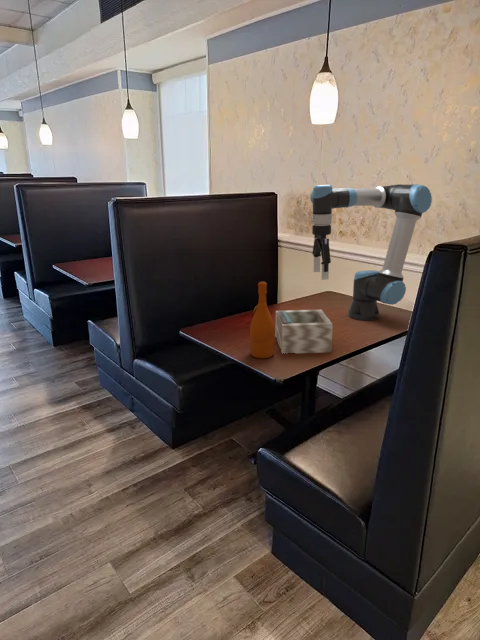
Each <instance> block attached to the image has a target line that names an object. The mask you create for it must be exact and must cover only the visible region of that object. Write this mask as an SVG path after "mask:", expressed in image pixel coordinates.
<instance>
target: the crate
mask: <svg viewBox="0 0 480 640" xmlns="http://www.w3.org/2000/svg"><path fill="white" fill-rule="evenodd" d="M284 311H285V312H286V313H287V315H288V316H289V317H290V319H291V320H292V321H293V323H292V324H289V323H288V322H287V320H286V318H285V316H284V314H283V312H284ZM276 338H277V339H276ZM275 339H276V341H277V344H278V347H279V350H280V349H281V350H280V352H281V354H282V355H289V354H288V353H295V354H317V353H318V354H319V353H332V345H333V344H332V343H333V323H332V321H331V320H330V318H328V317H327V315H326V313H325V312H324V310H322V308H321V309H295V310H294V309H292V310H291V309H290V310H289V309H288V310H275ZM283 353H284V354H283ZM285 353H286V354H285Z"/></svg>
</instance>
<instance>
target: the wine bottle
mask: <svg viewBox="0 0 480 640" xmlns="http://www.w3.org/2000/svg"><path fill="white" fill-rule="evenodd" d="M257 286H258V287H257V288H258V289H257V290H258V291H257V293H258V303H257V305H256V306H254V308H253V312H252V313H253V317H252V318H251V322H250V327H249V344H250V345H249V346H250V347H249V349H250V350H249V351H250V355H251V356H252V357H254V358H257V359H268V358H271V357H273V356H274V354H275V344H276V343H275V342H276V341H275V340H276V326H275V322H274V320H273V317H272V314H271V312H270V310H269V308H268V304H267V292H268V290H267V287H268V284H267V282H266V281H259V282H258V284H257Z"/></svg>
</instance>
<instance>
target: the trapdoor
mask: <svg viewBox="0 0 480 640" xmlns="http://www.w3.org/2000/svg"><path fill="white" fill-rule="evenodd" d="M283 311H284V312H283V314H284V316H285V318H286V320H287V322H288V323H289V324H292V323H293V321H292V320H291V319H290V317H289V316H288V315H287V313H286V312H285V311H286V310H283Z"/></svg>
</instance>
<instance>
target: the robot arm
mask: <svg viewBox="0 0 480 640" xmlns="http://www.w3.org/2000/svg"><path fill="white" fill-rule="evenodd" d="M309 198H310V203H312V216H311V217H310V218H311V220H312V224H313V225H312V229H311V230H312V235H313V236H314V240H313V245H312V246H313V247H312V253H311V254H312V255H313V273H320V272H321V277H320V278H321V280H322V281H323V280H329V273H330V272H329V270H330V264H331V261H332V260H331V251H330V239H329V238H327V236H328V235H329V236H330V235H331V233H332V225H331V224H332V215H333V214H332V211H333V209H343V208H351V207H354V206H355V207H356V206H357V207H359V206H361V207H362V206H363V207H364V206H367V207H368V206H371V207H372V206H373V207H374V208H375V209H377V208H378V209H379V208H380V209H386V210H391V211H394V215H395V216H396V219H395V222H394V226H393V230H392V233H391V237H390V241H389V245H388V247H387V251H386V256H385V259H384V263H383V267H382V269H380V270H359V271H357V272H355V273H354V278H353V290H352V301H351V304H350V306H349V309H348V311H347V312H348V313H347V315H348V317H350V318H351V319H355V320H359V321H375V320H377V319H379V318H380V310H379V309H380V308H379V306H378V302H380V303H382V304H386V305H390V306H391V305H392V306H393V305H395V304H398V303H399V302H400V301H402V300H403V298H404V297H405V295H406V291H407V286H406V283H405V282H403V281H404V278H405V277H404V275H403V273H402V271H403V269H404V265H405V262H406V258H407V254H408V253H409V252H408V251H409V248H410V245H411V241H412V237H413V233H414V231H415V230H414V229H415V227H416V223H417V221H419V220H420V219H421V218H422V216H423V214H424V213H426V212H427V211H428V210H429V209H430V208H431V205H432V201H433V197H432V192H431V190H430V189H429V188H428V186H425V185H423V184H417V183H416V184H401V183H400V184H391V185H384V186H382V185H381V186H380V185H379V186H376V187H374V188H351V187H350V188H349V187H348V188H347V187H346V188H344V187H342V188H341V187H340V188H339V187H337V188H336V187H334V188H333V185H332V184H317V185H314V186H313V189H312V191H311V192H310V196H309ZM321 260H322V261H321Z"/></svg>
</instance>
